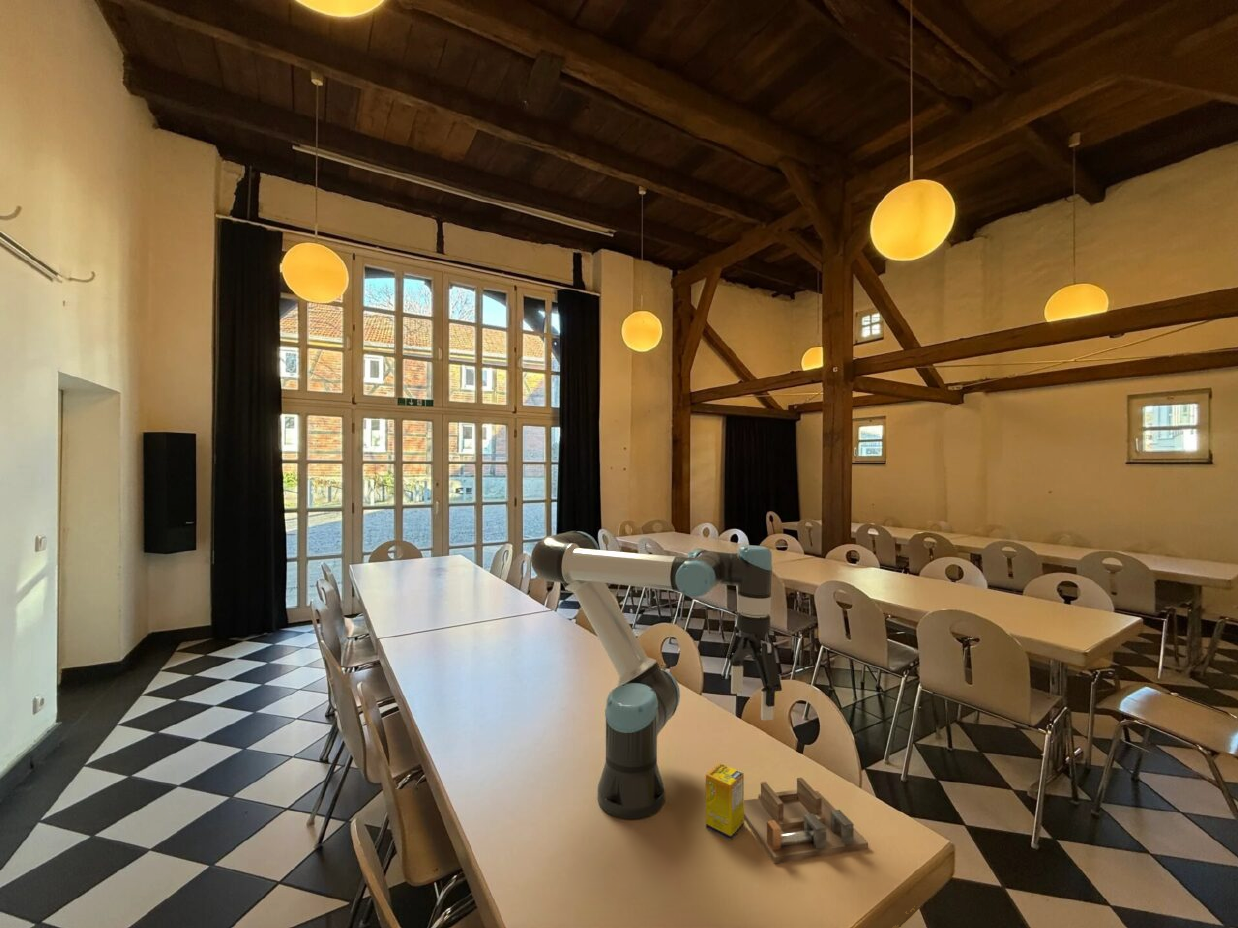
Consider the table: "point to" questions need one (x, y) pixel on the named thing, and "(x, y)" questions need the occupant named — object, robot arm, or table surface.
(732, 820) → the supplement box
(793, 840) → the lock pin
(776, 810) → the dock
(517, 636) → the table surface
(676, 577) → the robot arm
